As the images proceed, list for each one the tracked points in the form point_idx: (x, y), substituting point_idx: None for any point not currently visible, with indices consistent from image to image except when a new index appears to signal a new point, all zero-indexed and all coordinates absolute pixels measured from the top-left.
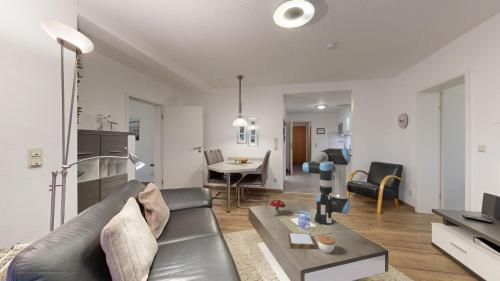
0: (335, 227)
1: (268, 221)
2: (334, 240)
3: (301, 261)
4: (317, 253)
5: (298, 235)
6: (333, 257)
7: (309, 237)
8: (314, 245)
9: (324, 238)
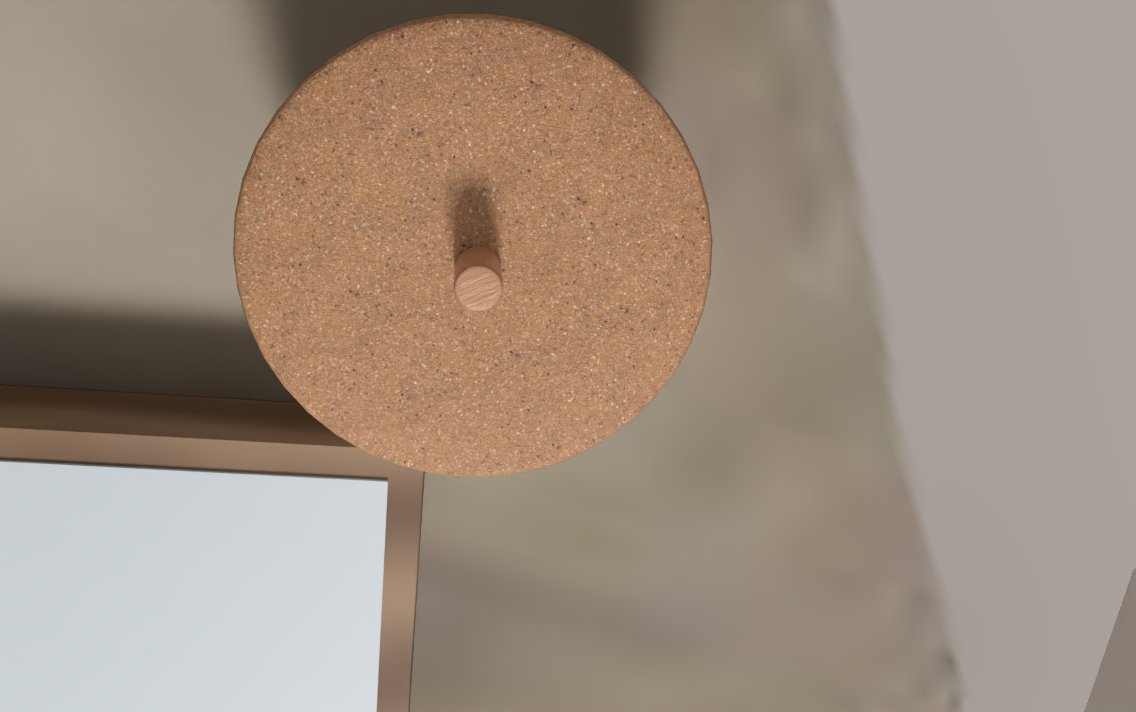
0: None
1: None
2: (577, 57)
3: (788, 706)
4: None
5: (11, 694)
6: (730, 140)
7: (76, 483)
8: None
9: (467, 313)
